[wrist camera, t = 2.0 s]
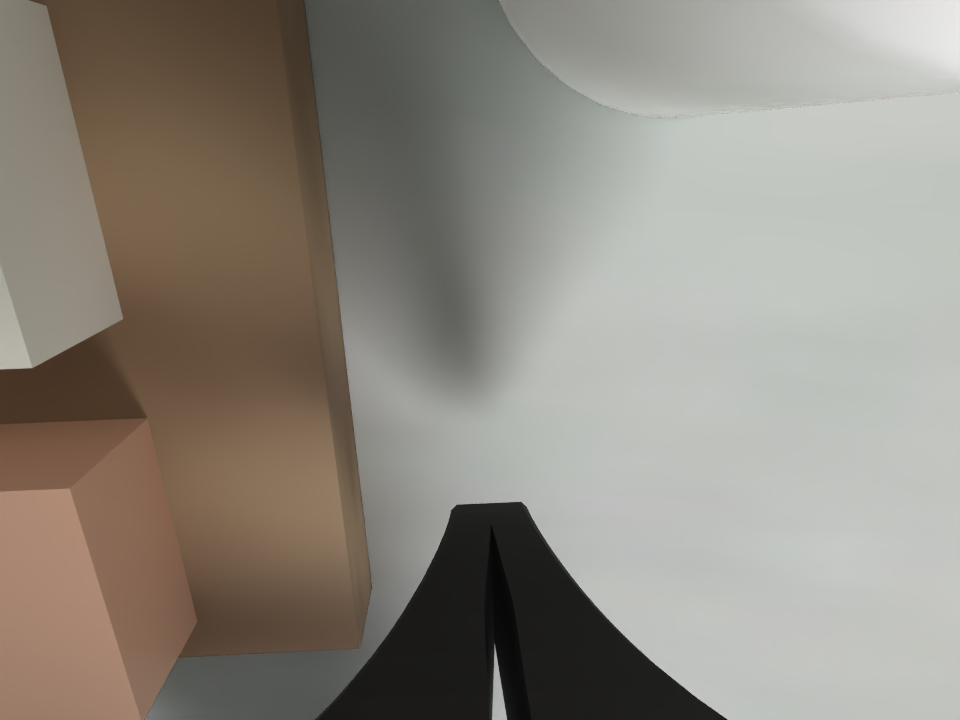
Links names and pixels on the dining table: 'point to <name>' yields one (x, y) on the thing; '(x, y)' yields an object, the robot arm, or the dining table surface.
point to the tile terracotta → (86, 572)
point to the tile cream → (44, 203)
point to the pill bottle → (742, 51)
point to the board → (218, 309)
